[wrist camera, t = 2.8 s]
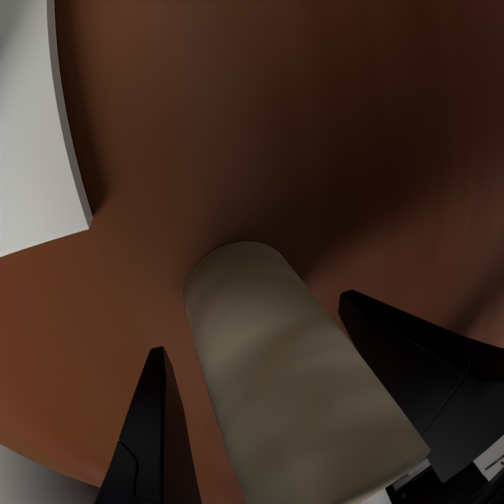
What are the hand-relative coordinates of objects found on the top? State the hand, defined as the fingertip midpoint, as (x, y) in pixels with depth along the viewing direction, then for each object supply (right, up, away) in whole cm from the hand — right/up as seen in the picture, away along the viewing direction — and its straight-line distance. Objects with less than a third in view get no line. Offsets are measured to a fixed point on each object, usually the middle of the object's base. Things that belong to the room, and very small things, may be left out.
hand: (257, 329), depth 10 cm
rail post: (-1, +1, +2) cm, 2 cm away
